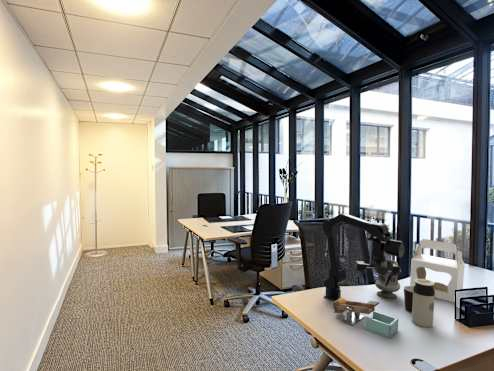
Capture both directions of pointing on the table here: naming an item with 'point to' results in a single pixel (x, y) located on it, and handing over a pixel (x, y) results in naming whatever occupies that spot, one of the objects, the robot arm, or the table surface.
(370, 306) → the lever
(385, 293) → the apothecary jar
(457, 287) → the gable box
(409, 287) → the coffee mug
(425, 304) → the travel mug
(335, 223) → the robot arm
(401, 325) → the table surface
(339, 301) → the ball
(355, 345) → the table surface
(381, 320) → the bin
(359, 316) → the fulcrum
